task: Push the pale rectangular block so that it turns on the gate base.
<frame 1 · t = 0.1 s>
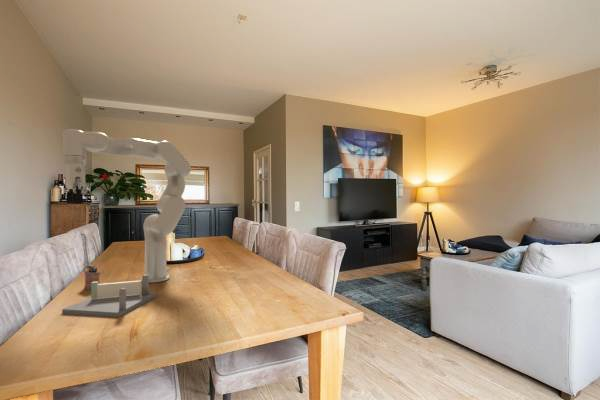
hand: (74, 203, 122), 37 cm above the table, tool pointing down, fingers open, 9 cm apart
lighter: (92, 289, 131), on the table
gate base: (113, 304, 112), on the table
pale rectangular block: (117, 288, 116), point 5 cm above the table, hinge at -60.0°
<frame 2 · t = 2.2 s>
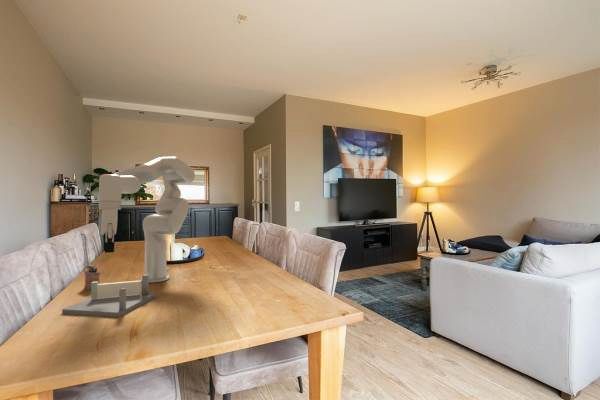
hand: (109, 252, 120), 18 cm above the table, tool pointing down, fingers closed
nothing on the table moved.
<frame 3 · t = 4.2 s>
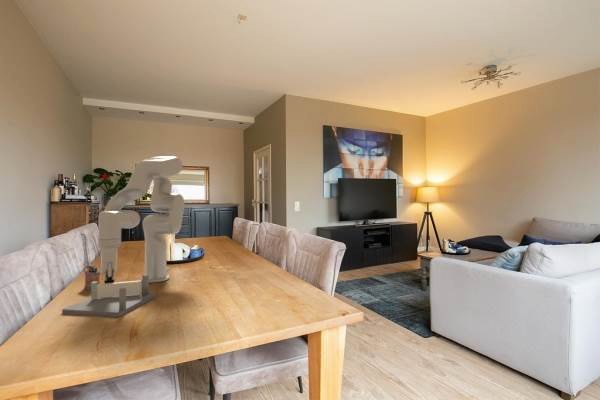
hand: (109, 289, 118), 4 cm above the table, tool pointing down, fingers closed
pale rectangular block: (117, 288, 116), point 5 cm above the table, hinge at -59.9°, touching gripper
everything else where it was.
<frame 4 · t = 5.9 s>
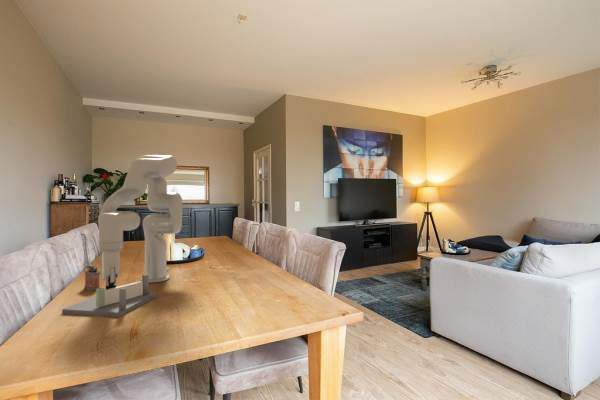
hand: (110, 296, 111), 3 cm above the table, tool pointing down, fingers closed
pale rectangular block: (121, 291, 111), point 5 cm above the table, hinge at -21.4°, touching gripper
everything else where it was.
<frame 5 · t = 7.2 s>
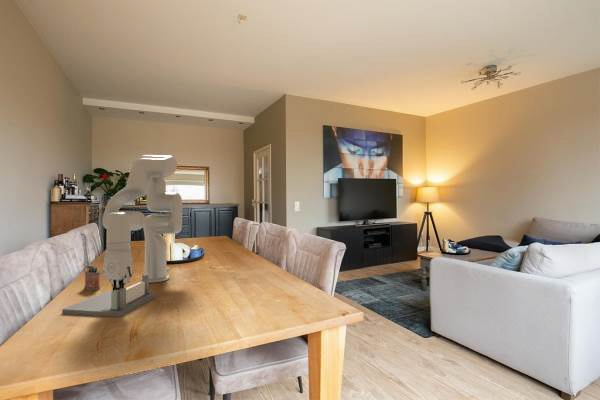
hand: (118, 297, 109), 4 cm above the table, tool pointing down, fingers closed
pale rectangular block: (129, 293, 110), point 5 cm above the table, hinge at 1.7°, touching gripper
everything else where it was.
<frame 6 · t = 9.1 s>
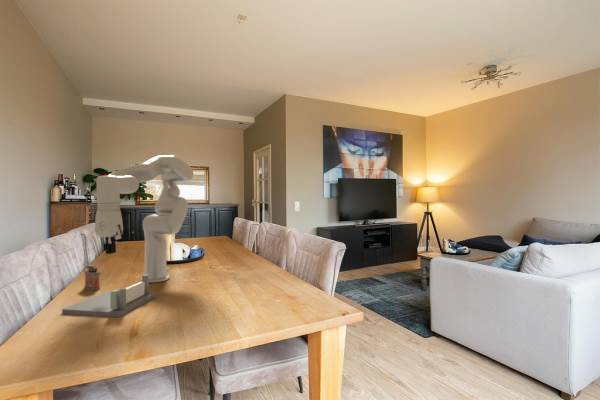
hand: (110, 253, 120), 18 cm above the table, tool pointing down, fingers closed
pale rectangular block: (128, 293, 110), point 5 cm above the table, hinge at 0.7°
everything else where it was.
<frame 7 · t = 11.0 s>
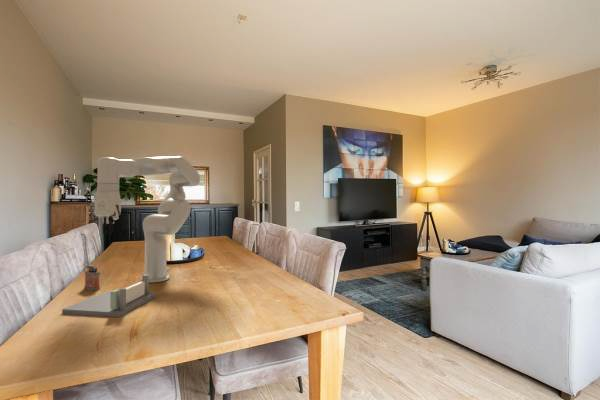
hand: (108, 233, 123), 25 cm above the table, tool pointing down, fingers closed
nothing on the table moved.
at the end: pale rectangular block at +1° (first picture: -60°); lighter moved 0.2 cm from its start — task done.
